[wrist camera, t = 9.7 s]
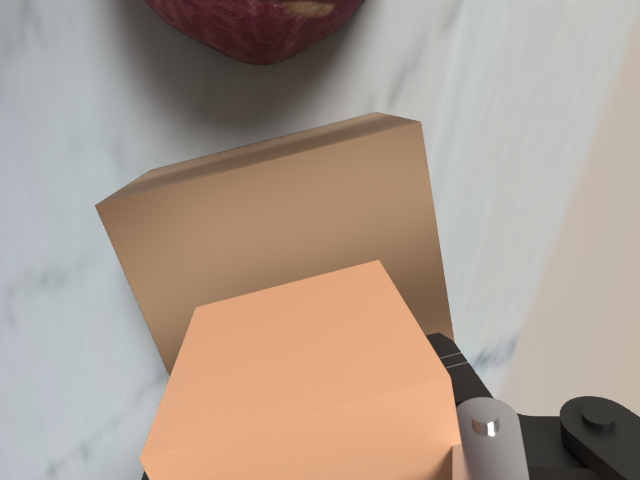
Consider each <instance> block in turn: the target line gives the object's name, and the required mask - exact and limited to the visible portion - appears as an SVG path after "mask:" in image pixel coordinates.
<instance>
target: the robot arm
mask: <svg viewBox="0 0 640 480" xmlns="http://www.w3.org/2000/svg"><path fill="white" fill-rule="evenodd" d="M417 323H418V322H417ZM418 324H419V323H418ZM419 326H420V325H419ZM420 328H421V327H420ZM421 329H422V328H421ZM422 331H423V330H422ZM423 333H424V331H423ZM424 334H425V333H424ZM425 336H426V338H427V339H428V341H429V342H430V344H431V346H432V347H433V349H434V351H435V352H436V354H437V356H438V357H439V359H440V360H441V362H442V364H443V365H444V367H445V369H446V370H447V372H448V374H449V375H450V377H451V382H452V388H453V394H454V401H455V407H456V413H457V419H458V425H459V431H460V438H461V444H457V445H453V477H452V480H640V417H639V416H637V415H636V414H634V413H633V412H631V411H630V410H628V409H627V408H625V407H624V406H622V405H620V404H618V403H616V402H614V401H611V400H608V399H605V398H601V397H594V396H583V397H578V398H574V399H571V400H569V401H567V402H566V403H565V404H564V405H563V407H562V408H561V410H560V416H558V417H557V416H555V417H554V416H538V417H537V416H526V415H521V414H517V413H516V412H515V411H514V410H513V409H512V408H511V407H510V406H509V405H507V404H506V403H504V402H502V401H500V400H497V399H494V398H493V397H492V395H491V394H490V392H489V391H488V389H487V388H486V387H485V385H484V384H483V382H482V381H481V380H480V378H479V377H478V375H477V374H476V373H475V371H474V370H473V368H472V367H471V365H470V364H469V363H468V362H467V360H466V358H465V357H464V356H463V354H461V351H460V350H459V349H458V347H457V346H456V344H455V343H454V341H453V340H451V339H450V338H448V337H446V336H444V335H443V334H441V333H439V332H438V333H434V334H430V335H425ZM142 480H149V478H148V476H147V474H146V472H145V471H144V474H143V477H142Z"/></svg>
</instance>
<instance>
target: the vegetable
mask: <svg viewBox="0 0 640 480" xmlns="http://www.w3.org/2000/svg"><path fill="white" fill-rule="evenodd" d="M144 1H145V2H146V3H147V4H148V5H149V6H150V7H151V8H152V9H153V10H154V11H155V12H156V13H157V14H158V15H159V16H160V17H161V18H162V19H163V20H164V21H166V22H167V23H168V24H169V25H171V26H172V27H174V28H176V29H177V30H179V31H180V32H182V33H184V34H186V35H188V36H189V37H192V38H194V39H197V40H199V41H200V42H202V43H203V44H205V45H207V46H209V47H211V48H213V49H215V50H217V51H219V52H221V53H223V54H224V55H227V56H230V57H232V58H235V59H237V60H239V61H243V62H246V63H250V64H258V65H267V64H273V63H277V62H280V61H283V60H285V59H287V58H289V57H291V56H293V55H295V54H297V53H299V52H301V51H303V50H305V49H306V48H308V47H310V46H311V45H313V44H315V43H317V42H319V41H321V40H322V39H324V38H325V37H328V36H329V35H331V34H332V33H333V32H335V31H336V30H337V29H338V28H339V27H340V26H341V25H342V24H343V23H344V22H345V21H346V20H347V19H348V18H349V17H350V16H351V15H352V13H353V12H354V10H355V9H356V7H357V6H358V5H359V3H360V2H361V1H364V0H144Z"/></svg>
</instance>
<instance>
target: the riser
mask: <svg viewBox="0 0 640 480" xmlns="http://www.w3.org/2000/svg"><path fill="white" fill-rule="evenodd" d="M95 207H96V209H97V211H98V213H99V216H100V218H101V220H102V223H103V225H104V227H105V230H106V232H107V234H108V236H109V239H110V241H111V243H112V246H113V248H114V250H115V252H116V255H117V257H118V259H119V262H120V264H121V266H122V268H123V271H124V273H125V275H126V278H127V280H128V282H129V285H130V287H131V289H132V291H133V294H134V296H135V298H136V301H137V303H138V305H139V307H140V310H141V312H142V314H143V317H144V319H145V321H146V323H147V326H148V328H149V330H150V333H151V335H152V337H153V340H154V342H155V344H156V346H157V349H158V351H159V353H160V356H161V358H162V360H163V362H164V365H165V367H166V369H167V372H168V374H169V376H171V373H172V370H173V367H174V365H175V362H176V359H177V357H178V354H179V351H180V349H181V346H182V343H183V341H184V338H185V335H186V332H187V330H188V327H189V324H190V322H191V319H192V316H193V314H194V311H195V308H196V307H199V306H203V305H207V304H211V303H215V302H218V301H222V300H226V299H230V298H234V297H238V296H241V295H245V294H249V293H253V292H257V291H261V290H264V289H268V288H272V287H276V286H280V285H284V284H287V283H291V282H295V281H299V280H303V279H307V278H310V277H314V276H318V275H322V274H326V273H330V272H334V271H337V270H341V269H345V268H349V267H353V266H357V265H360V264H364V263H368V262H372V261H376V260H379V261H380V262H381V264H382V266H383V267H384V269H385V270H386V272H387V274H388V275H389V277H390V279H391V280H392V282H393V284H394V285H395V287H396V288H397V290H398V292H399V293H400V295H401V297H402V298H403V300H404V302H405V303H406V305H407V306H408V308H409V310H410V311H411V313H412V315H413V316H414V318H415V320H416V321H417V322H418V323H419V325H420V327H421V328H422V330H423V331H424V333H425V335H430V334H434V333H438V332H439V333H441V334H443V335H444V336H446V337H448V338H450V339H451V340H453V341H454V336H453V329H452V323H451V316H450V310H449V303H448V296H447V290H446V283H445V277H444V270H443V264H442V257H441V250H440V244H439V237H438V231H437V224H436V217H435V211H434V204H433V198H432V191H431V184H430V178H429V171H428V165H427V158H426V152H425V145H424V138H423V132H422V125H421V122H420V121H415V120H410V119H406V118H401V117H397V116H392V115H387V114H383V113H378V112H376V113H372V114H368V115H364V116H360V117H356V118H352V119H348V120H344V121H340V122H337V123H333V124H329V125H325V126H321V127H317V128H313V129H309V130H305V131H301V132H297V133H294V134H290V135H286V136H282V137H278V138H274V139H270V140H266V141H262V142H258V143H254V144H251V145H247V146H243V147H239V148H235V149H231V150H227V151H223V152H219V153H215V154H212V155H208V156H204V157H200V158H196V159H192V160H188V161H184V162H180V163H176V164H172V165H169V166H165V167H161V168H157V169H153V170H150V171H148V172H147V173H145V174H144V175H142V176H140V177H139V178H137V179H136V180H134V181H133V182H131V183H129V184H128V185H126V186H125V187H123V188H122V189H120V190H118V191H117V192H115V193H114V194H112V195H111V196H109V197H108V198H106V199H104V200H103V201H101V202H100V203H98V204H97V205H95Z"/></svg>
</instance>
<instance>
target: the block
mask: <svg viewBox="0 0 640 480" xmlns="http://www.w3.org/2000/svg"><path fill="white" fill-rule="evenodd" d="M457 444H461V438H460V431H459V425H458V419H457V413H456V407H455V401H454V394H453V388H452V382H451V377H450V375H449V374H448V372H447V370H446V369H445V367H444V365H443V364H442V362H441V360H440V359H439V357H438V356H437V354H436V352H435V351H434V349H433V347H432V346H431V344H430V342H429V341H428V339H427V338H426V336H425V334H424V333H423V331H422V329H421V328H420V326H419V324H418V323H417V321H416V320H415V318H414V316H413V315H412V313H411V311H410V310H409V308H408V306H407V305H406V303H405V302H404V300H403V298H402V297H401V295H400V293H399V292H398V290H397V288H396V287H395V285H394V284H393V282H392V280H391V279H390V277H389V275H388V274H387V272H386V270H385V269H384V267H383V266H382V264H381V262H380V261H379V260H376V261H372V262H368V263H364V264H360V265H357V266H353V267H349V268H345V269H341V270H337V271H334V272H330V273H326V274H322V275H318V276H314V277H310V278H307V279H303V280H299V281H295V282H291V283H287V284H284V285H280V286H276V287H272V288H268V289H264V290H261V291H257V292H253V293H249V294H245V295H241V296H238V297H234V298H230V299H226V300H222V301H218V302H215V303H211V304H207V305H203V306H199V307H196V308H195V311H194V314H193V316H192V319H191V322H190V324H189V327H188V330H187V332H186V335H185V338H184V341H183V343H182V346H181V349H180V351H179V354H178V357H177V359H176V362H175V365H174V367H173V370H172V373H171V376H170V378H169V381H168V384H167V386H166V389H165V392H164V394H163V397H162V400H161V402H160V405H159V408H158V411H157V413H156V416H155V419H154V421H153V424H152V427H151V429H150V432H149V435H148V437H147V440H146V443H145V446H144V448H143V451H142V454H141V456H140V459H139V460H140V462H141V464H142V466H143V468H144V470H145V472H146V474H147V476H148V478H149V480H452V477H453V445H457Z"/></svg>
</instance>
